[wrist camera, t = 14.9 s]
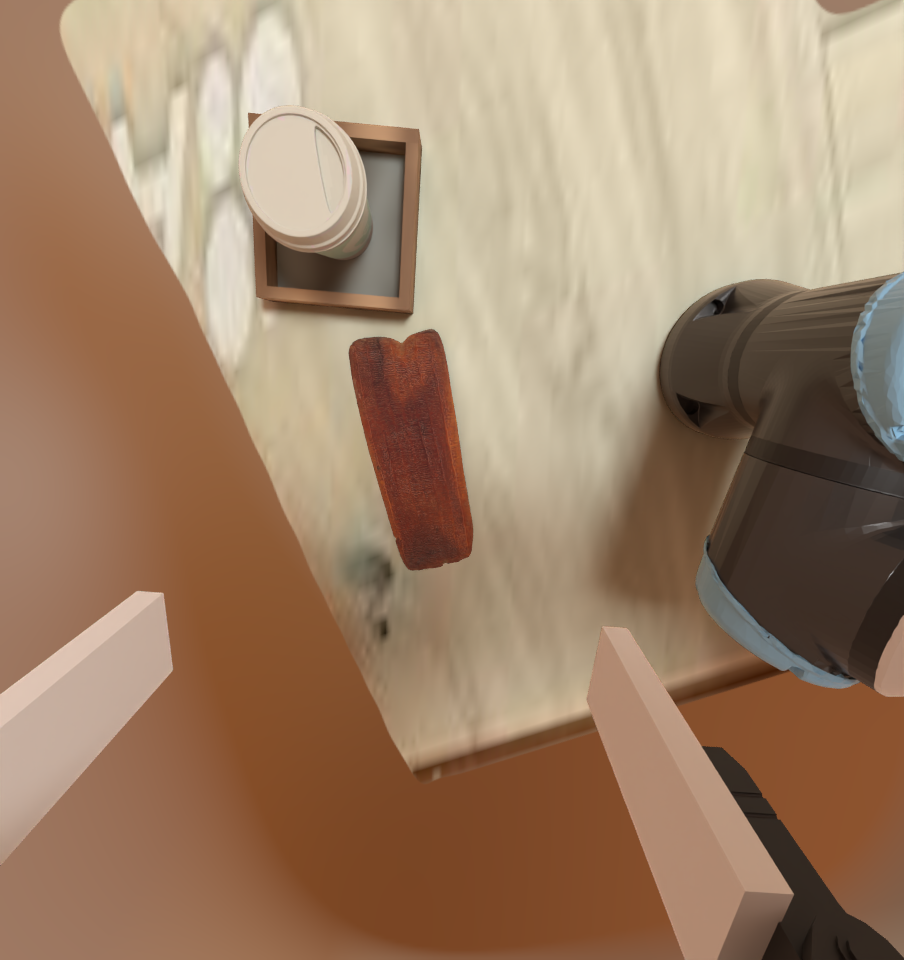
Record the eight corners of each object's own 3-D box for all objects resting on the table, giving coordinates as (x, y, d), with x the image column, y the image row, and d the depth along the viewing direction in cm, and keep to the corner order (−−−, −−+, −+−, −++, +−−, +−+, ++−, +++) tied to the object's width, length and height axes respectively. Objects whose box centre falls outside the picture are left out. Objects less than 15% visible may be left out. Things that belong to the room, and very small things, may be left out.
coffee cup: (367, 292, 41) (333, 269, 30) (282, 250, 40) (213, 209, 29) (402, 199, 39) (380, 135, 27) (313, 153, 38) (252, 66, 26)
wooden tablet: (345, 342, 44) (341, 342, 43) (441, 325, 44) (440, 324, 42) (397, 571, 52) (395, 578, 50) (479, 559, 51) (479, 566, 49)
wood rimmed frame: (421, 148, 39) (418, 129, 35) (413, 313, 43) (409, 310, 39) (266, 133, 38) (248, 112, 35) (272, 301, 42) (256, 296, 39)
